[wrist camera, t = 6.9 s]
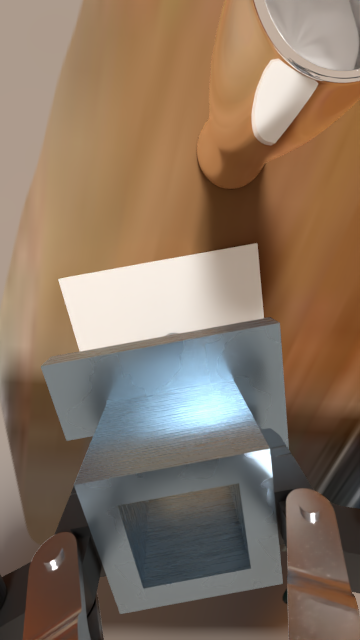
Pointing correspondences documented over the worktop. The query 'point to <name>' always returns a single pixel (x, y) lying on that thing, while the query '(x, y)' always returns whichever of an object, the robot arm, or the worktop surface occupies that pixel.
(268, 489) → the flange
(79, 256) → the worktop surface
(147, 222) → the worktop surface
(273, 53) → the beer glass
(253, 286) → the post base
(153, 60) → the worktop surface
